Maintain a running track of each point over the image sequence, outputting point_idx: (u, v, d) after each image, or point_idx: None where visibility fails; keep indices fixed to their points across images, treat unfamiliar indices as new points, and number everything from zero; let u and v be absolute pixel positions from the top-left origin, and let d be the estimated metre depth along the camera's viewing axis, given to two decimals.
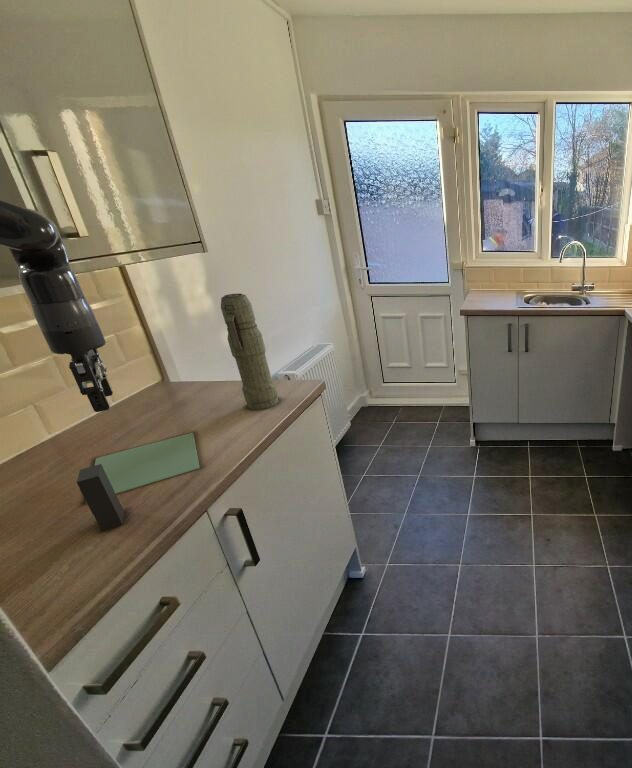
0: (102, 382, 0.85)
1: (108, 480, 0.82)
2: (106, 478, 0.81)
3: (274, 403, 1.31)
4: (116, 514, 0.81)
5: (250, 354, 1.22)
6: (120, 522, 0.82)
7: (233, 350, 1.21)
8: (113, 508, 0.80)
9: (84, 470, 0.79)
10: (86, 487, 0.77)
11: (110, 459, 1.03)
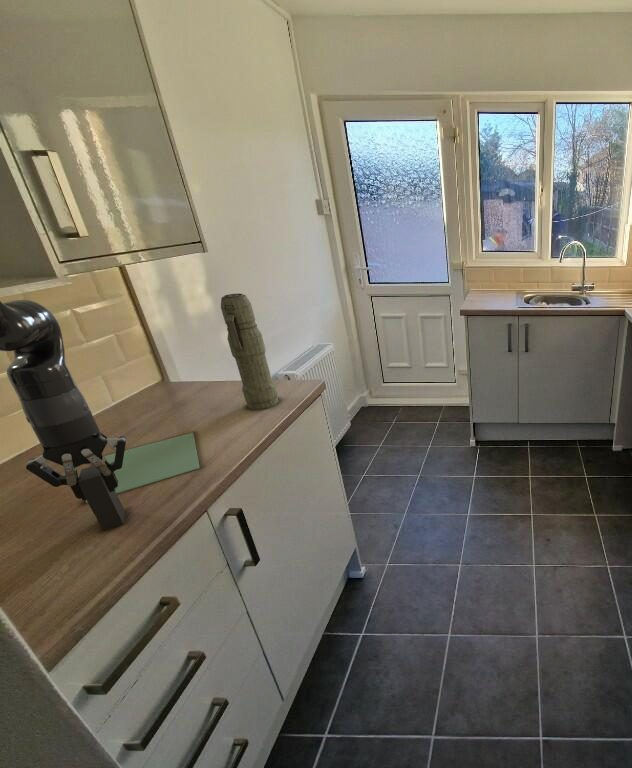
0: None
1: None
2: None
3: (274, 403, 1.31)
4: (117, 514, 0.81)
5: (250, 354, 1.22)
6: (121, 522, 0.82)
7: (233, 350, 1.21)
8: (114, 508, 0.80)
9: (85, 470, 0.79)
10: (87, 487, 0.77)
11: (110, 459, 1.03)
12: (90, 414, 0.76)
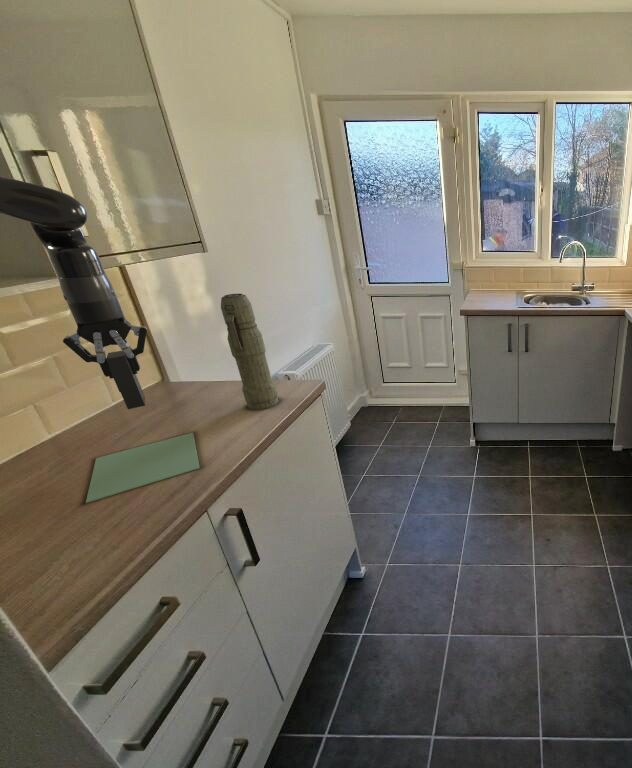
0: (128, 360, 0.91)
1: None
2: None
3: (274, 403, 1.31)
4: (139, 394, 0.92)
5: (250, 354, 1.22)
6: (142, 402, 0.93)
7: (233, 350, 1.21)
8: (136, 387, 0.92)
9: (112, 353, 0.91)
10: (114, 364, 0.88)
11: (110, 459, 1.03)
12: (117, 300, 0.87)
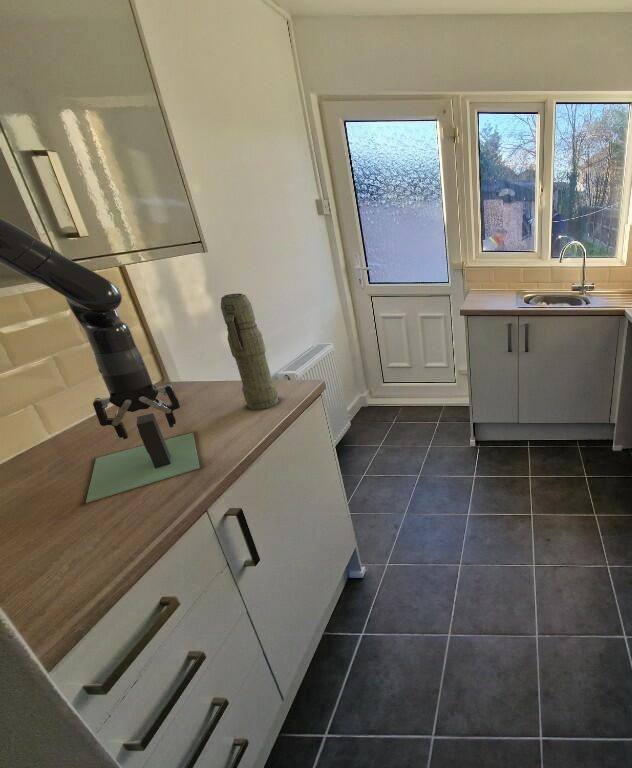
0: (165, 415, 0.99)
1: (158, 427, 1.01)
2: (157, 425, 1.00)
3: (274, 403, 1.31)
4: (165, 453, 1.00)
5: (250, 354, 1.22)
6: (168, 460, 1.00)
7: (233, 350, 1.21)
8: (163, 448, 0.99)
9: (140, 417, 0.98)
10: (143, 429, 0.95)
11: (110, 459, 1.03)
12: (146, 369, 0.94)
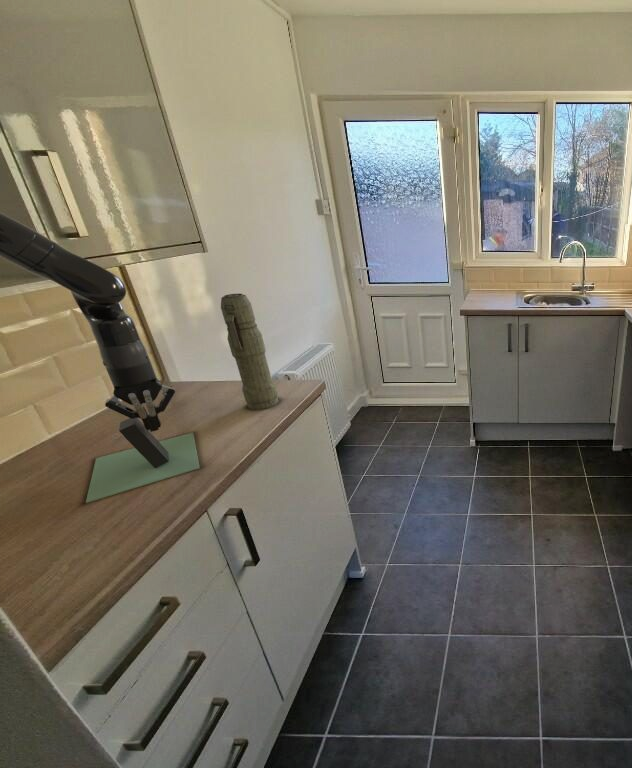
0: None
1: (145, 428, 0.99)
2: (143, 426, 0.98)
3: (274, 403, 1.31)
4: (160, 452, 0.99)
5: (250, 354, 1.22)
6: (165, 458, 1.00)
7: (233, 350, 1.21)
8: (156, 448, 0.98)
9: (123, 422, 0.96)
10: (128, 434, 0.94)
11: (110, 459, 1.03)
12: (150, 362, 0.94)
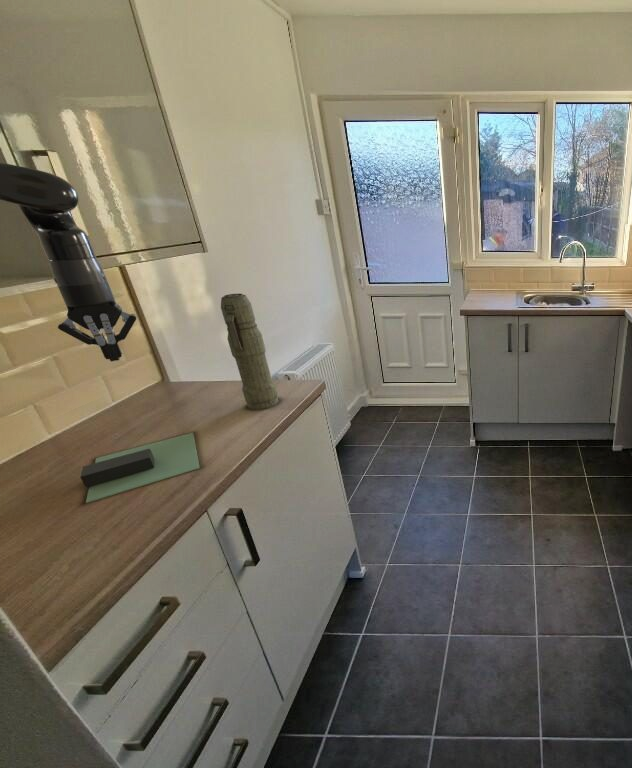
0: None
1: (104, 461, 0.97)
2: (99, 464, 0.95)
3: (274, 403, 1.31)
4: (133, 462, 0.96)
5: (250, 354, 1.22)
6: (144, 459, 0.97)
7: (233, 350, 1.21)
8: (125, 464, 0.95)
9: None
10: (93, 482, 0.93)
11: None
12: (107, 283, 0.87)
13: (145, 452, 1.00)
